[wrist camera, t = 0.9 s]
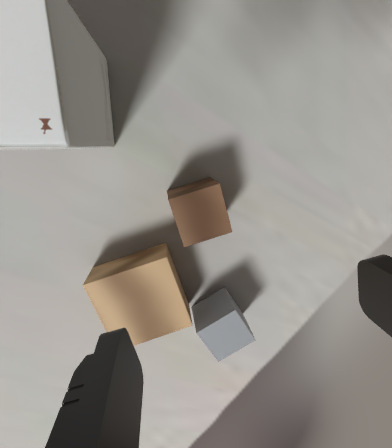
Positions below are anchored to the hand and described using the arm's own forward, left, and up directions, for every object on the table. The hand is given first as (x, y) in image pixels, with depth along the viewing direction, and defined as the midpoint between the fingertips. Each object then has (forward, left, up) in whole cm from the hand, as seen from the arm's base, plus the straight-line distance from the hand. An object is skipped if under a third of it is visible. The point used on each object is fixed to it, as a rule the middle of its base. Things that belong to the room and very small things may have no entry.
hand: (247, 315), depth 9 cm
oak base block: (+8, +8, -19) cm, 22 cm away
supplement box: (+8, -11, -19) cm, 23 cm away
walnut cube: (0, +1, -19) cm, 19 cm away
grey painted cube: (+1, +14, -19) cm, 23 cm away
